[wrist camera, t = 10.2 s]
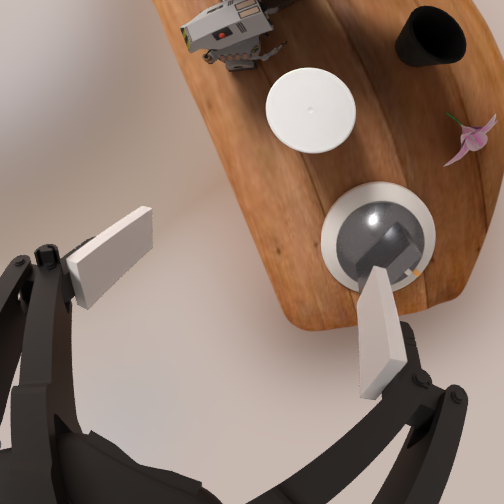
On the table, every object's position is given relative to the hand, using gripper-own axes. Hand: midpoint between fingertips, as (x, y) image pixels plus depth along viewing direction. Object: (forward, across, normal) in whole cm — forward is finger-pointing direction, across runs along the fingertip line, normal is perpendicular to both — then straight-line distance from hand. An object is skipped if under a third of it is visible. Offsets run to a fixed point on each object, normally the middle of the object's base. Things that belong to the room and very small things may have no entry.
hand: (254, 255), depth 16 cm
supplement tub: (+31, +1, +8) cm, 32 cm away
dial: (+28, +16, -9) cm, 34 cm away
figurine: (+31, -10, +18) cm, 37 cm away
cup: (+31, +13, +23) cm, 41 cm away
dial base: (+31, +16, -9) cm, 36 cm away
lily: (+31, +24, +12) cm, 41 cm away
